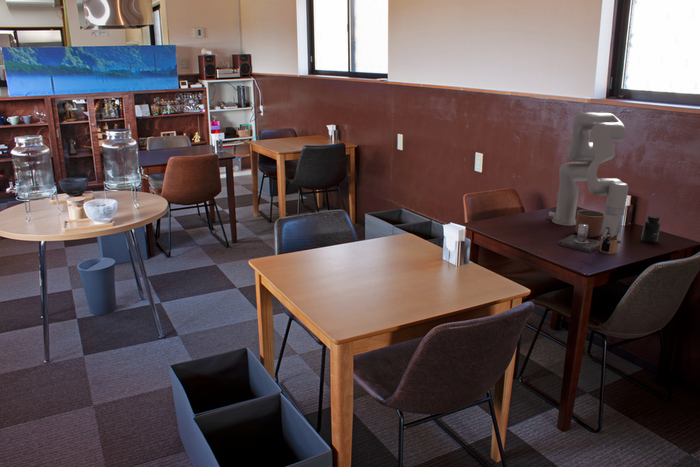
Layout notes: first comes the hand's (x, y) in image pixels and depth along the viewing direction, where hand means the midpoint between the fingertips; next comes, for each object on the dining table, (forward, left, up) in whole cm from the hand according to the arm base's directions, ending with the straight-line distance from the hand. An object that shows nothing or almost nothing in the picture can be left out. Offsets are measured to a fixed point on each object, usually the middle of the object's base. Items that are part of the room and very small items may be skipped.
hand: (608, 248), depth 242 cm
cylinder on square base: (-12, 0, -1) cm, 12 cm away
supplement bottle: (+8, +29, -1) cm, 30 cm away
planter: (-16, +17, -1) cm, 23 cm away
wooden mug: (0, 0, -1) cm, 1 cm away
